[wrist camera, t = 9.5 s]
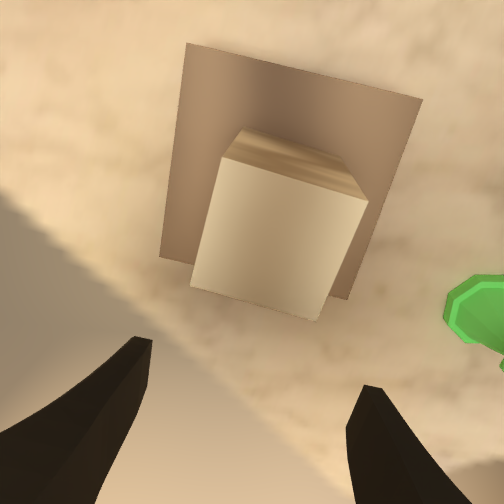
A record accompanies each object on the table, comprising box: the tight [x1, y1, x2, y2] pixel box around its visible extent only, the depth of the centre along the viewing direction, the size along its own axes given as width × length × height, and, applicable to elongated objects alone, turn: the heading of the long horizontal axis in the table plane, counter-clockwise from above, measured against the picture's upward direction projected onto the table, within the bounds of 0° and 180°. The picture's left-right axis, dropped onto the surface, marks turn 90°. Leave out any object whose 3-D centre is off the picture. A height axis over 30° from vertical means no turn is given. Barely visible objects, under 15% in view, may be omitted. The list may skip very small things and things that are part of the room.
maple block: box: [189, 127, 369, 322], centre depth 14 cm, size 4×4×6 cm
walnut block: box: [159, 43, 423, 300], centre depth 18 cm, size 9×9×4 cm
